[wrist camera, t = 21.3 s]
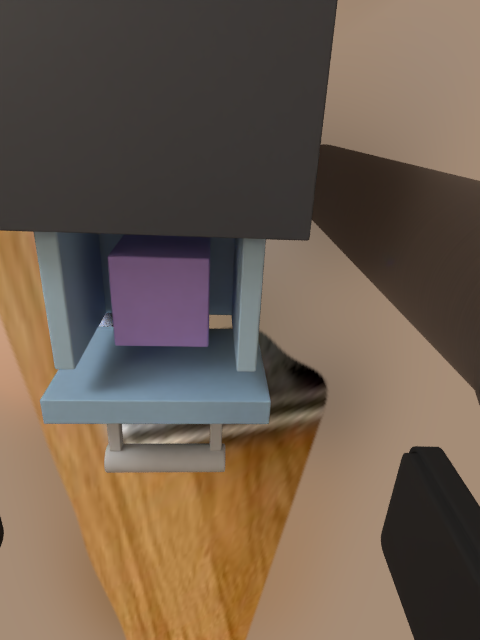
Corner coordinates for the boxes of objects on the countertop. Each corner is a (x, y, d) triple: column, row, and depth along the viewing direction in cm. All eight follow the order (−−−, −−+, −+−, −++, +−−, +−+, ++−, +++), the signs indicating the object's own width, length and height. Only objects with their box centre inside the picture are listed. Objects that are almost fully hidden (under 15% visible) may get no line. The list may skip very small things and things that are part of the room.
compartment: (275, 196, 22) (309, 240, 14) (62, 188, 21) (-25, 229, 13) (299, -104, 17) (372, -288, 9) (23, -129, 16) (-151, -353, 9)
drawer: (250, 417, 27) (261, 506, 21) (95, 416, 26) (59, 509, 20) (269, 151, 20) (293, 166, 14) (63, 141, 19) (-6, 153, 13)
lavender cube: (209, 310, 22) (208, 347, 19) (130, 308, 22) (114, 346, 18) (210, 233, 21) (210, 258, 17) (125, 230, 20) (106, 255, 17)
